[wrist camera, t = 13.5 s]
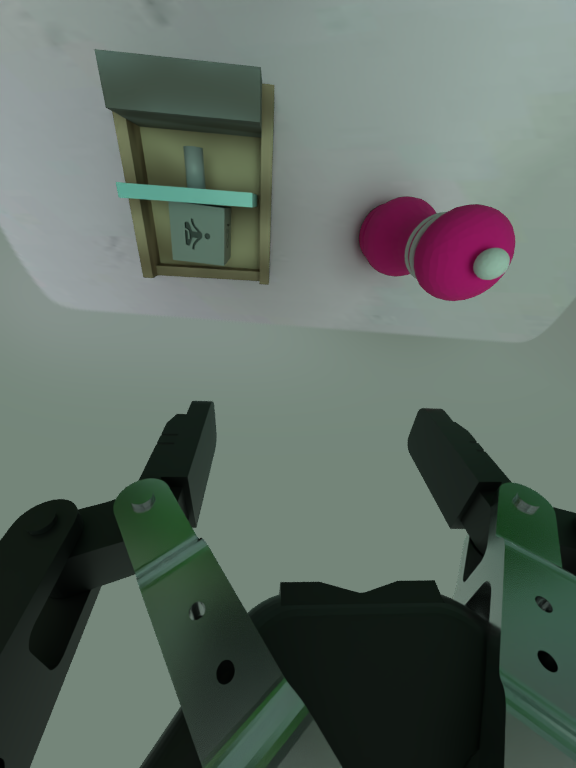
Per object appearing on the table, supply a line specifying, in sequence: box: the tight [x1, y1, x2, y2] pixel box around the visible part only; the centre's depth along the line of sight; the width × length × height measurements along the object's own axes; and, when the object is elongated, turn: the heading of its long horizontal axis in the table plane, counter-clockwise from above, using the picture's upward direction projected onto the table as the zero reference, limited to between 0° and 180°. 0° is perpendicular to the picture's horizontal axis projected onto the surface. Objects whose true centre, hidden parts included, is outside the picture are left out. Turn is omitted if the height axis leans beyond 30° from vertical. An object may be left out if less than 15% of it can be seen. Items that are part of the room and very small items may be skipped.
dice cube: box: [168, 201, 231, 266], centre depth 30 cm, size 5×5×5 cm
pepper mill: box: [359, 197, 515, 301], centre depth 25 cm, size 7×7×20 cm
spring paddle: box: [116, 146, 257, 207], centre depth 26 cm, size 4×11×8 cm, turn 86°
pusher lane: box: [95, 49, 274, 285], centre depth 28 cm, size 16×14×7 cm
